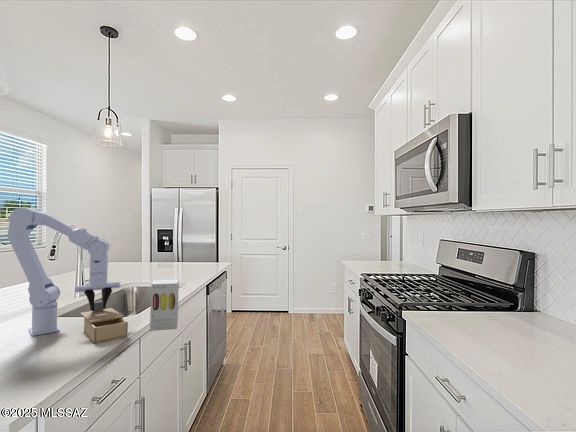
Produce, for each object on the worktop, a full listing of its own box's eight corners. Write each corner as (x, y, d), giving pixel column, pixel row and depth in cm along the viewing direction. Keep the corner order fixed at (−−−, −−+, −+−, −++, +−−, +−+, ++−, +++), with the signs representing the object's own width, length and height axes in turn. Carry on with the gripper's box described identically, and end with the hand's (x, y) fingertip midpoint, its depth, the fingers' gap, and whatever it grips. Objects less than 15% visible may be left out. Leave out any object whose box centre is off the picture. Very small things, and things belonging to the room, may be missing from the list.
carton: (84, 332, 117) (84, 318, 117) (115, 327, 124) (115, 313, 124) (94, 343, 107) (94, 328, 107) (127, 336, 113) (127, 321, 113)
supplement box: (149, 331, 119) (150, 284, 120) (152, 323, 128) (152, 279, 128) (177, 329, 122) (178, 282, 122) (178, 321, 131) (179, 278, 131)
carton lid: (80, 314, 121) (80, 302, 121) (111, 309, 128) (111, 298, 128) (89, 323, 110) (90, 311, 110) (123, 317, 117) (123, 305, 118)
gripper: (78, 275, 115) (77, 315, 115) (123, 271, 125) (122, 308, 125) (73, 273, 121) (73, 311, 120) (117, 269, 130) (116, 304, 130)
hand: (97, 309), depth 123 cm, fingers closed on carton lid, 3 cm apart
